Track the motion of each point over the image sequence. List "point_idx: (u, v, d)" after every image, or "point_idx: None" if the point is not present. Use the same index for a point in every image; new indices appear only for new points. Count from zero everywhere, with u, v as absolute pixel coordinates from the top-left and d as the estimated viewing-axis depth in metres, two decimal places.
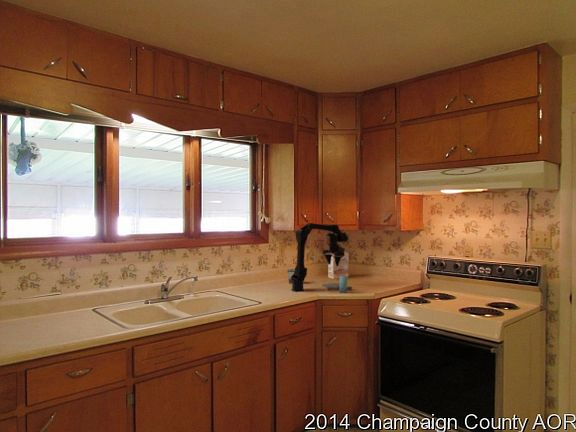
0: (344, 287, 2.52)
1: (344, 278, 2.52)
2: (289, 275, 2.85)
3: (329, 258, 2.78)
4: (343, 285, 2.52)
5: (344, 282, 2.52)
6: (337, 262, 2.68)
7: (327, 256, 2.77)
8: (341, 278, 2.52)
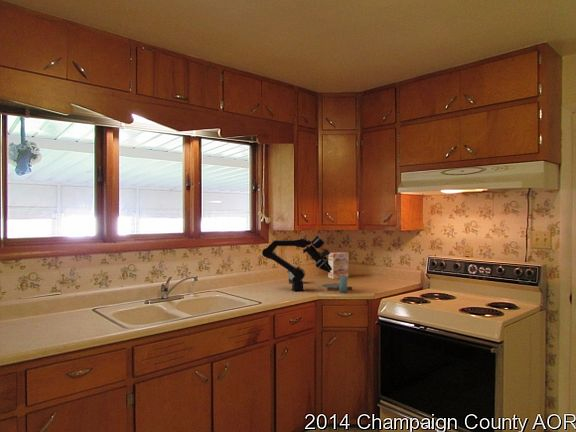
0: (344, 287, 2.52)
1: (344, 278, 2.52)
2: (289, 275, 2.85)
3: (327, 265, 2.61)
4: (343, 285, 2.52)
5: (344, 282, 2.52)
6: (326, 269, 2.51)
7: None
8: (341, 278, 2.52)
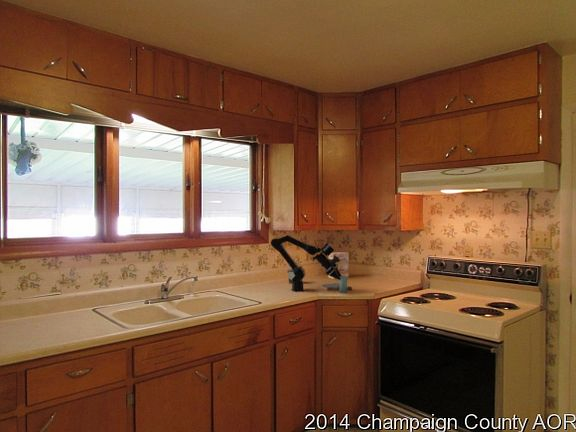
0: (344, 287, 2.52)
1: (344, 278, 2.52)
2: (289, 275, 2.85)
3: (337, 272, 2.60)
4: (343, 285, 2.52)
5: (344, 282, 2.52)
6: (336, 277, 2.50)
7: None
8: (341, 278, 2.52)
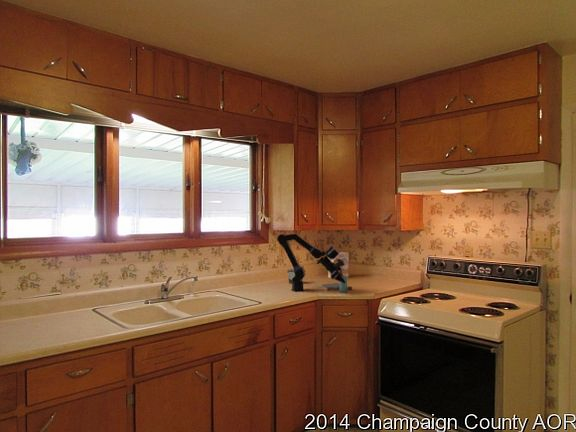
0: (344, 287, 2.52)
1: (344, 278, 2.52)
2: (289, 275, 2.85)
3: None
4: (343, 285, 2.52)
5: None
6: (341, 280, 2.51)
7: None
8: None
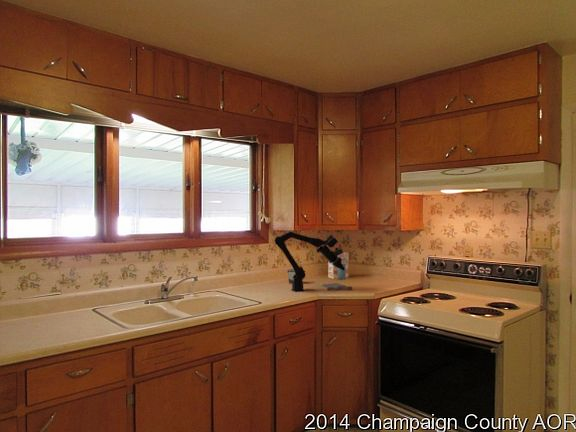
0: (343, 274, 2.61)
1: (343, 265, 2.61)
2: (289, 275, 2.85)
3: None
4: (343, 272, 2.61)
5: None
6: (341, 267, 2.59)
7: None
8: None
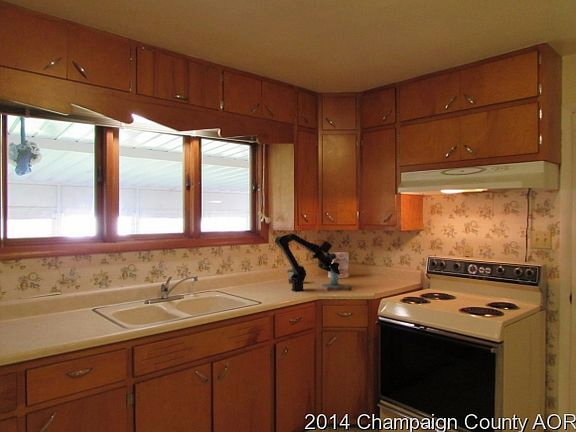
0: (337, 280, 2.72)
1: None
2: (289, 275, 2.85)
3: (328, 268, 2.77)
4: (336, 278, 2.72)
5: (337, 275, 2.72)
6: (337, 272, 2.69)
7: (325, 268, 2.76)
8: None
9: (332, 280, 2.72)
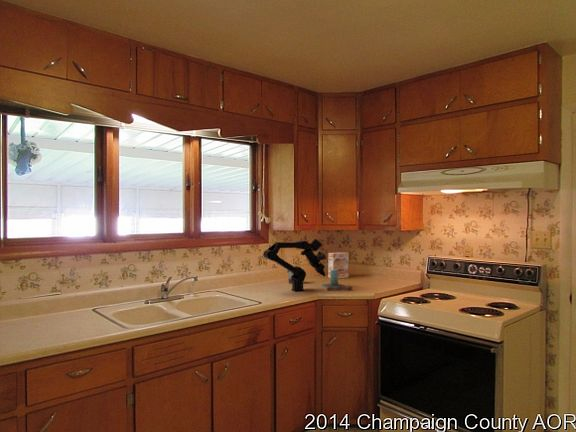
0: (337, 280, 2.72)
1: (337, 271, 2.72)
2: (289, 275, 2.85)
3: None
4: (336, 278, 2.72)
5: (337, 275, 2.72)
6: (322, 273, 2.63)
7: (314, 266, 2.72)
8: (334, 272, 2.71)
9: (332, 280, 2.72)
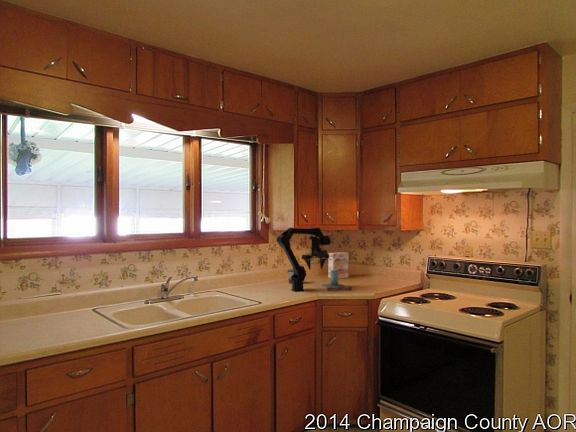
0: (337, 280, 2.72)
1: (337, 271, 2.72)
2: (289, 275, 2.85)
3: (321, 262, 2.69)
4: (336, 278, 2.72)
5: (337, 275, 2.72)
6: (308, 265, 2.65)
7: (320, 260, 2.70)
8: (334, 272, 2.71)
9: (332, 280, 2.72)
